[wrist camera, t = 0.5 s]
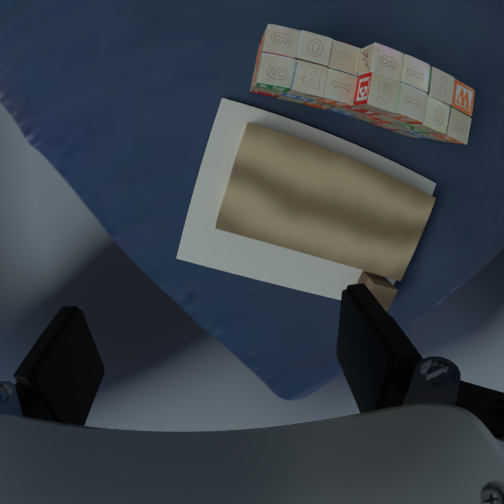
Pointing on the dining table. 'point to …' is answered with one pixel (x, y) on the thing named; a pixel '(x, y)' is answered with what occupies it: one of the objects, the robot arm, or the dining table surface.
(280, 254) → the cream tile
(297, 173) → the oak plinth
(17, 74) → the dining table surface
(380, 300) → the walnut cube
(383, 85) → the stack of blocks
